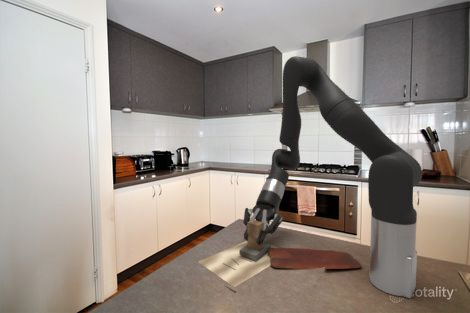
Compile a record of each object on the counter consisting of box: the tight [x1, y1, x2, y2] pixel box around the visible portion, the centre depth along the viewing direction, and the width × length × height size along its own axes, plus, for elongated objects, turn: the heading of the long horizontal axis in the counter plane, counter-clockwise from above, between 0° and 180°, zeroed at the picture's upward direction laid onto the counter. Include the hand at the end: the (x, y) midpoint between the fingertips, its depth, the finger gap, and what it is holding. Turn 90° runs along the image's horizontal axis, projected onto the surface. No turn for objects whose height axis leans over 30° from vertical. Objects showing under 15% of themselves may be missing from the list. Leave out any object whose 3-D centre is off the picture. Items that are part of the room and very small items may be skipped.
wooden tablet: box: [267, 247, 363, 270], centre depth 67 cm, size 27×10×2 cm, turn 93°
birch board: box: [198, 240, 278, 294], centre depth 69 cm, size 16×24×2 cm, turn 132°
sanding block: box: [239, 219, 272, 261], centre depth 71 cm, size 6×9×10 cm, turn 142°
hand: (252, 241), depth 70 cm, fingers closed on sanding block, 4 cm apart
